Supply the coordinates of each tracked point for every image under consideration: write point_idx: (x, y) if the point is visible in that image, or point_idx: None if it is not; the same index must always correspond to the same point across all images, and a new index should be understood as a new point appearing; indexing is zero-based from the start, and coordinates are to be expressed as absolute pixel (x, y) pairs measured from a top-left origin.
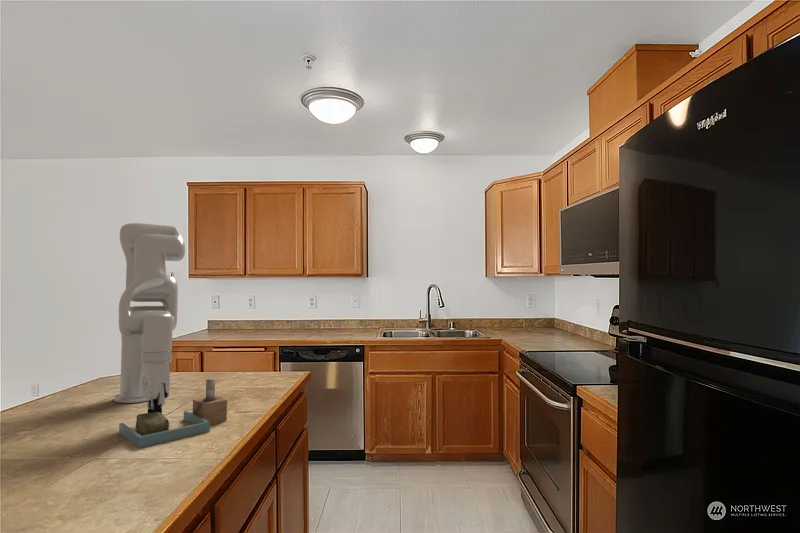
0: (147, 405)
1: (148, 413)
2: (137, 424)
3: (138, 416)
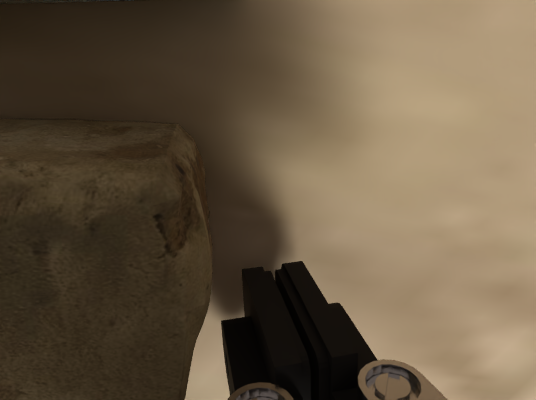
0: (424, 378)
1: (137, 325)
2: (103, 136)
3: (85, 174)
